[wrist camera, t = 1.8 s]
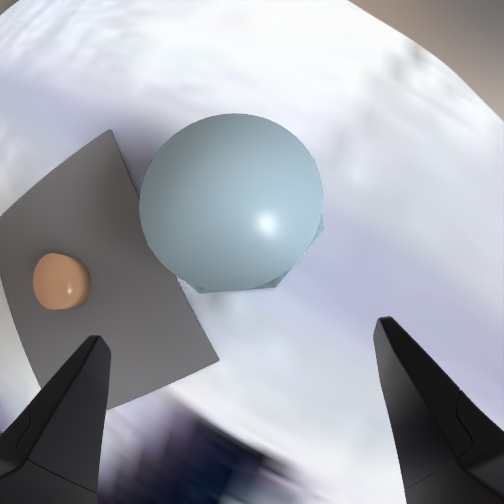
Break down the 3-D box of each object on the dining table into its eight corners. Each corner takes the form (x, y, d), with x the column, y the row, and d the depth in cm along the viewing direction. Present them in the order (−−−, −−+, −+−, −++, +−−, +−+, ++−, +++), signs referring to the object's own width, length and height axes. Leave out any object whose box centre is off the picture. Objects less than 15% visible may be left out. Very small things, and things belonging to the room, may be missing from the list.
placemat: (219, 359, 21) (218, 360, 20) (63, 425, 21) (61, 427, 20) (111, 131, 24) (109, 129, 23) (-8, 228, 24) (-11, 227, 23)
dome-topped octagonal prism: (306, 286, 21) (333, 281, 11) (201, 295, 21) (141, 296, 11) (295, 184, 22) (308, 106, 12) (195, 194, 22) (142, 128, 12)
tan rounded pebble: (76, 319, 21) (57, 320, 19) (45, 289, 22) (26, 288, 19) (99, 275, 22) (80, 273, 19) (66, 247, 22) (47, 242, 20)
